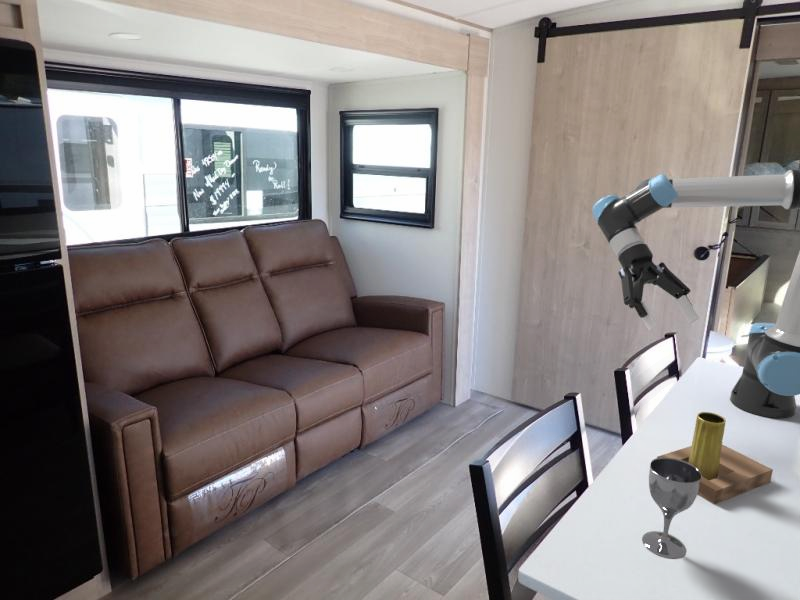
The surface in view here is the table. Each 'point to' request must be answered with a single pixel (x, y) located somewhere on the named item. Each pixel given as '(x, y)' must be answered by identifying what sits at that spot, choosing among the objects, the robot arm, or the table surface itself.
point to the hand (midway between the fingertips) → (674, 324)
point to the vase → (707, 444)
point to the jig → (729, 474)
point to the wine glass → (671, 501)
